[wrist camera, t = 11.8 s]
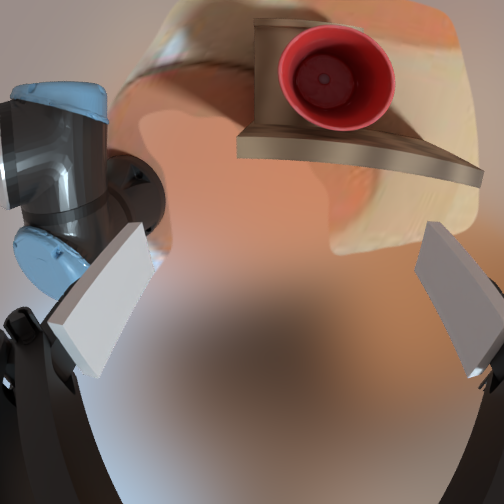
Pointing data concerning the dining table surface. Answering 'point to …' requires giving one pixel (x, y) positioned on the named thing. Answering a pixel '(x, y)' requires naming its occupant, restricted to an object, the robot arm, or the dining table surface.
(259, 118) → the small wooden stand
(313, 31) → the flower pot
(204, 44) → the dining table surface
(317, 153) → the wooden board
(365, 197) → the dining table surface
